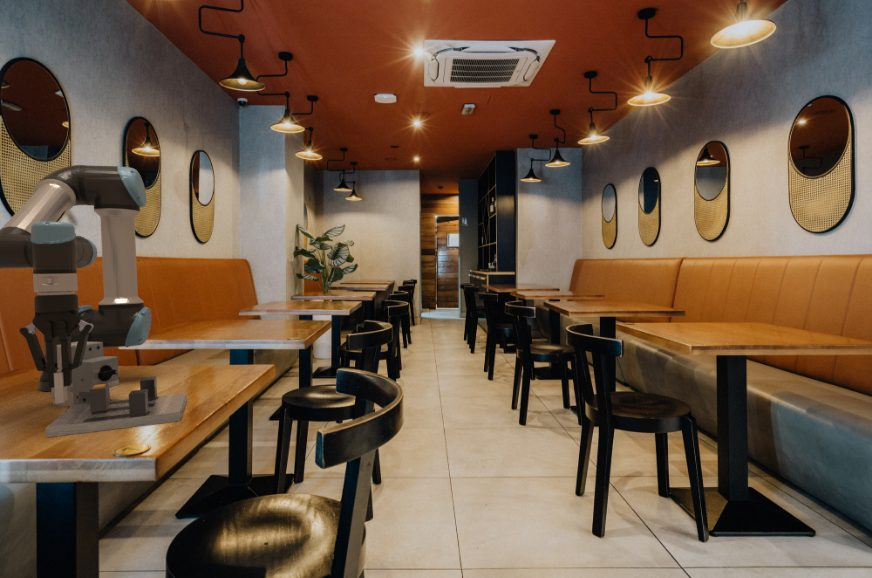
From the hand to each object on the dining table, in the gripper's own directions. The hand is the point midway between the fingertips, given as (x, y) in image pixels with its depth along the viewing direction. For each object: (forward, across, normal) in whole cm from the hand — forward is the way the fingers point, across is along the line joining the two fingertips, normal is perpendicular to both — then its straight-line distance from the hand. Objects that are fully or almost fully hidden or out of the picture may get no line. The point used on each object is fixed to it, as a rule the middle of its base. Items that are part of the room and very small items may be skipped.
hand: (61, 401), depth 105 cm
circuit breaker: (+5, 0, +19) cm, 20 cm away
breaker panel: (+5, +12, 0) cm, 13 cm away
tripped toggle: (+3, +7, 0) cm, 8 cm away
